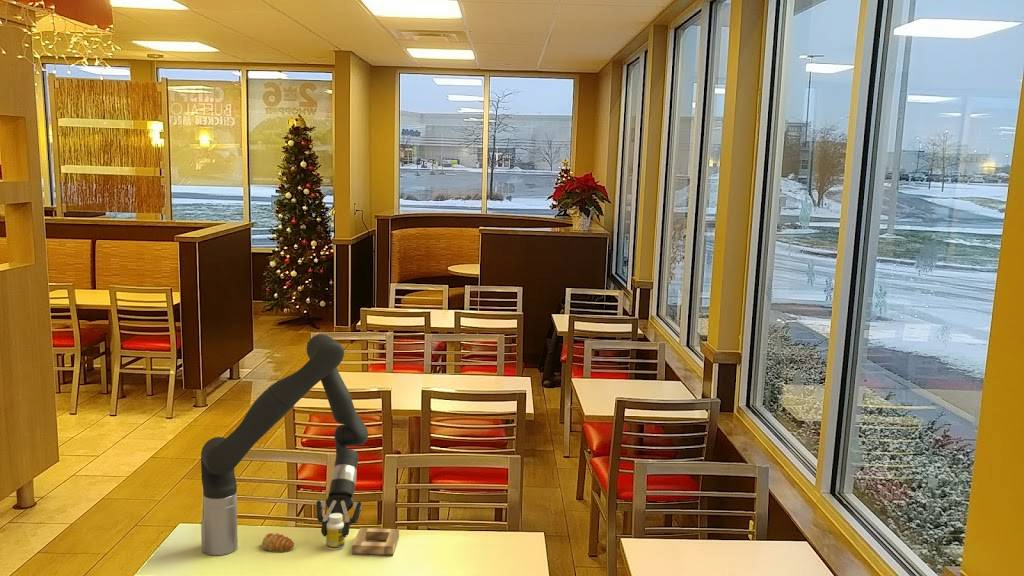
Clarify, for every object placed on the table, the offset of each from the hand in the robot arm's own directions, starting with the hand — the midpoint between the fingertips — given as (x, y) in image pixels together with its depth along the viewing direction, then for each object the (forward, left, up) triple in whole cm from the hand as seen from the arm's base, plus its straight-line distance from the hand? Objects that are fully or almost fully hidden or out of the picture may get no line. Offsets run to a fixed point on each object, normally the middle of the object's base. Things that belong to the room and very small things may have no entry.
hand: (334, 535), depth 238 cm
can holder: (+12, +3, -4) cm, 13 cm away
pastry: (-17, 0, -5) cm, 18 cm away
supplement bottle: (0, +2, -5) cm, 5 cm away
